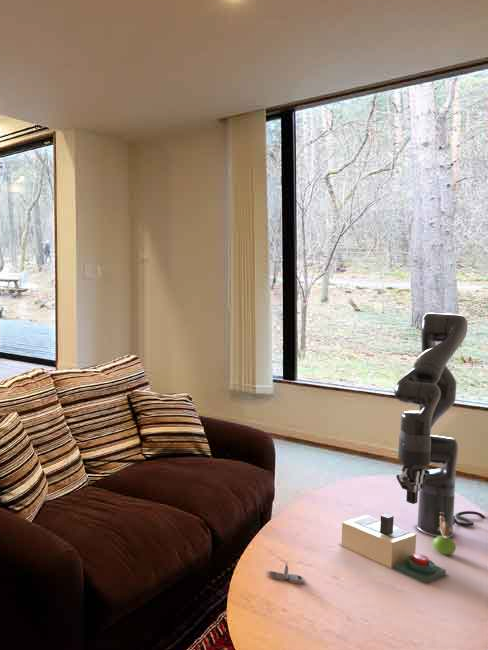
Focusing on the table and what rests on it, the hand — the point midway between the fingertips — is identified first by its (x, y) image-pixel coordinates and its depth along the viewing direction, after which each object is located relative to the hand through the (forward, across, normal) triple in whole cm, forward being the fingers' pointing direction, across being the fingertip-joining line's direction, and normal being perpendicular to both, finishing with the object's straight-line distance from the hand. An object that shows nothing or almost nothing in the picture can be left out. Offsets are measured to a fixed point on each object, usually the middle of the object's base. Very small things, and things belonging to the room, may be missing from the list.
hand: (411, 502), depth 162 cm
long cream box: (+20, -1, +8) cm, 21 cm away
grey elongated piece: (+19, -40, +10) cm, 46 cm away
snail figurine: (+20, +17, -1) cm, 26 cm away
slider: (+11, -3, +5) cm, 13 cm away
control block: (+19, -2, -4) cm, 20 cm away
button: (+16, -2, -4) cm, 17 cm away
